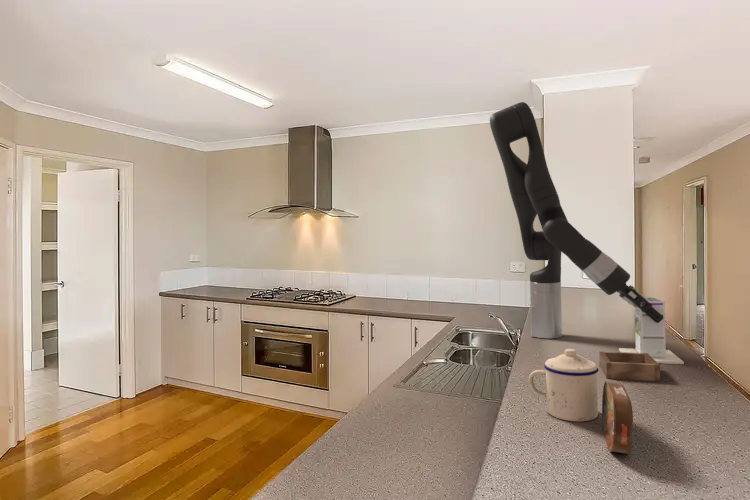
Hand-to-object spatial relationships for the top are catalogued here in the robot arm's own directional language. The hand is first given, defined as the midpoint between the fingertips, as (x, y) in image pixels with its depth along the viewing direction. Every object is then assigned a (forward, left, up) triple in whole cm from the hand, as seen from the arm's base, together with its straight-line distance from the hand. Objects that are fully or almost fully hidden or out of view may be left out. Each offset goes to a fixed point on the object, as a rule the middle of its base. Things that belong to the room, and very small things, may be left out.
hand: (656, 317), depth 120 cm
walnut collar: (-10, -16, -10) cm, 21 cm away
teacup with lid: (-26, -44, -10) cm, 52 cm away
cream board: (-2, 0, -10) cm, 10 cm away
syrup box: (-2, -1, -10) cm, 10 cm away
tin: (-19, -55, -11) cm, 59 cm away
